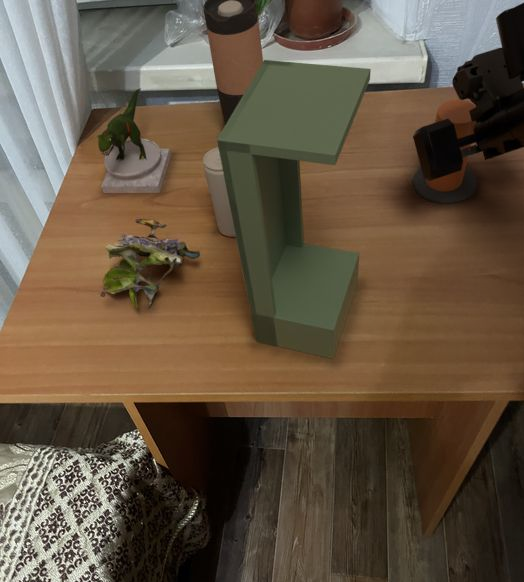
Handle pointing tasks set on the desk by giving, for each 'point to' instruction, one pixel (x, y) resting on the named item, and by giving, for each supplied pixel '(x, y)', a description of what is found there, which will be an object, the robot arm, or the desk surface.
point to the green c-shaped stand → (290, 200)
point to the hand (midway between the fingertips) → (456, 147)
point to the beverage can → (218, 192)
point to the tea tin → (464, 126)
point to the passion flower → (144, 247)
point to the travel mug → (233, 48)
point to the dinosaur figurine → (131, 156)
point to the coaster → (450, 196)
